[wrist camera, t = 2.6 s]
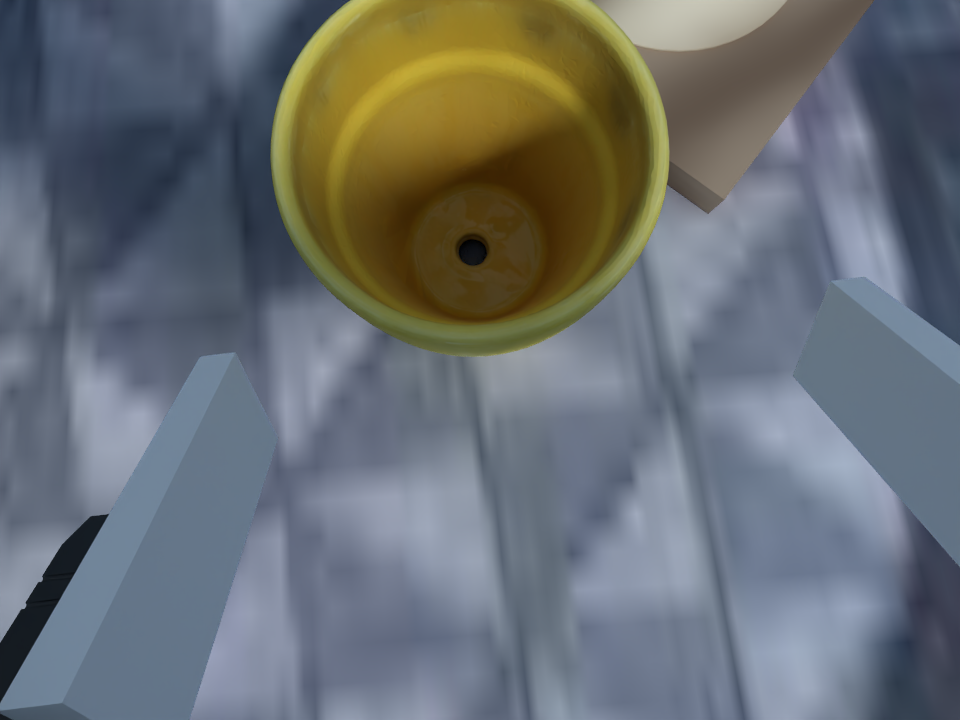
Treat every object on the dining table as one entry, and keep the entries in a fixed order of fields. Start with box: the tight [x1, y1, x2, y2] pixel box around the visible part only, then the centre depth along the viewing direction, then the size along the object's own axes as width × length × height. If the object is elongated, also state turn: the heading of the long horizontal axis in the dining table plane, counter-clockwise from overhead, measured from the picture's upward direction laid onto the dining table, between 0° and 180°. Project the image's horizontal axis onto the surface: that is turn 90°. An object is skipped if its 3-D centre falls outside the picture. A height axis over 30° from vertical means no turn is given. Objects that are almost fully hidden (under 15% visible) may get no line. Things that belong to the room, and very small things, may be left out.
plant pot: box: [270, 0, 670, 357], centre depth 17 cm, size 10×10×10 cm
